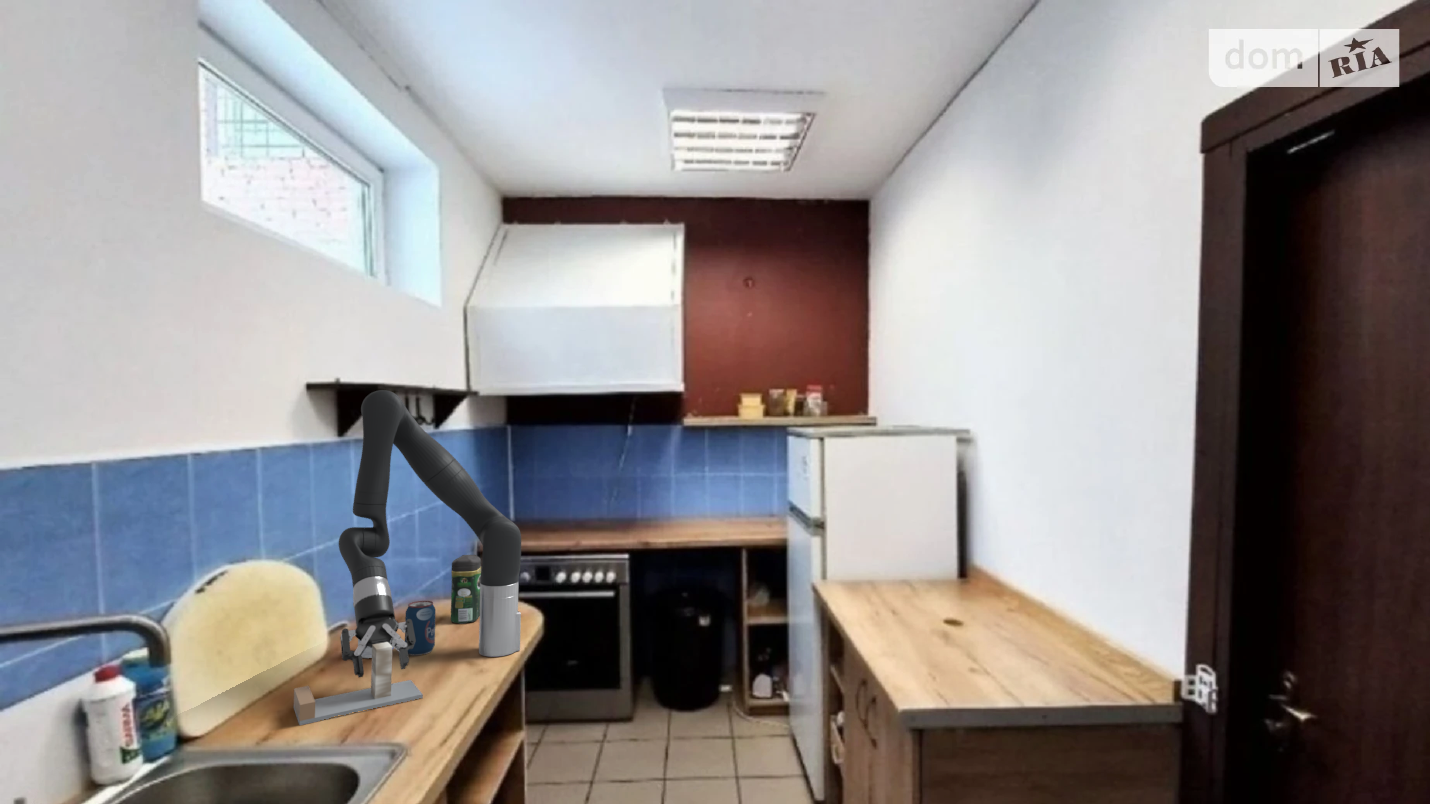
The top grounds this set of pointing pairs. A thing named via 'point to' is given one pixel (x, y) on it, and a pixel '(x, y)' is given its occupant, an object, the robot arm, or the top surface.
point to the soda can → (422, 626)
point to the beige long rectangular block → (381, 670)
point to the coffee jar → (465, 589)
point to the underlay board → (348, 701)
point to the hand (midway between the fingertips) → (383, 671)
